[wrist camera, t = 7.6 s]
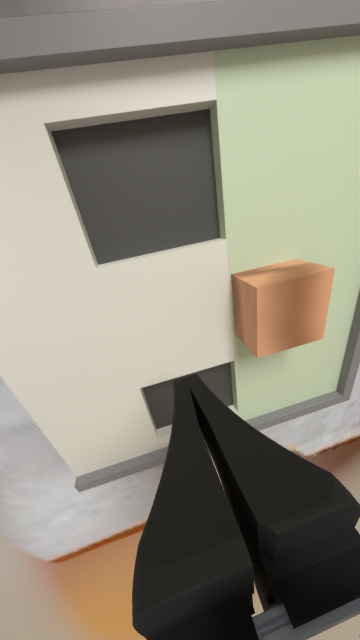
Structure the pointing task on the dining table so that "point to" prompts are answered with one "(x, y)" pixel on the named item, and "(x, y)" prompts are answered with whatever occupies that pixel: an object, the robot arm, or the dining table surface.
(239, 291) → the block
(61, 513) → the dining table surface
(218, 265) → the sectioned serving tray
